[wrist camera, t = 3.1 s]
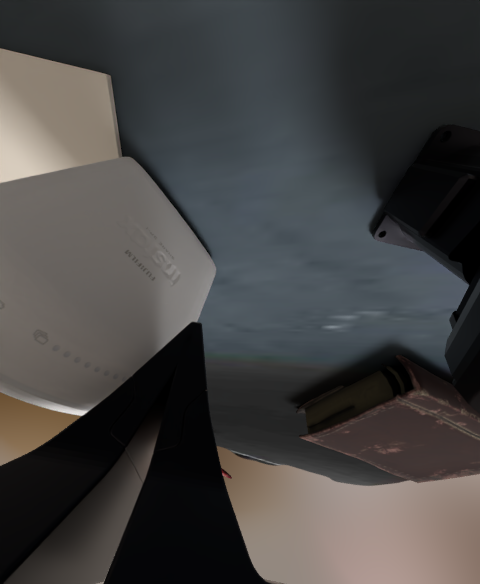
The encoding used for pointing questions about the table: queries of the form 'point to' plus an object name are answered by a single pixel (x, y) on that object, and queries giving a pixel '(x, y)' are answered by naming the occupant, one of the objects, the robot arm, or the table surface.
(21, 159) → the mat
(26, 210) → the photo printer
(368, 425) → the diary
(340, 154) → the table surface
